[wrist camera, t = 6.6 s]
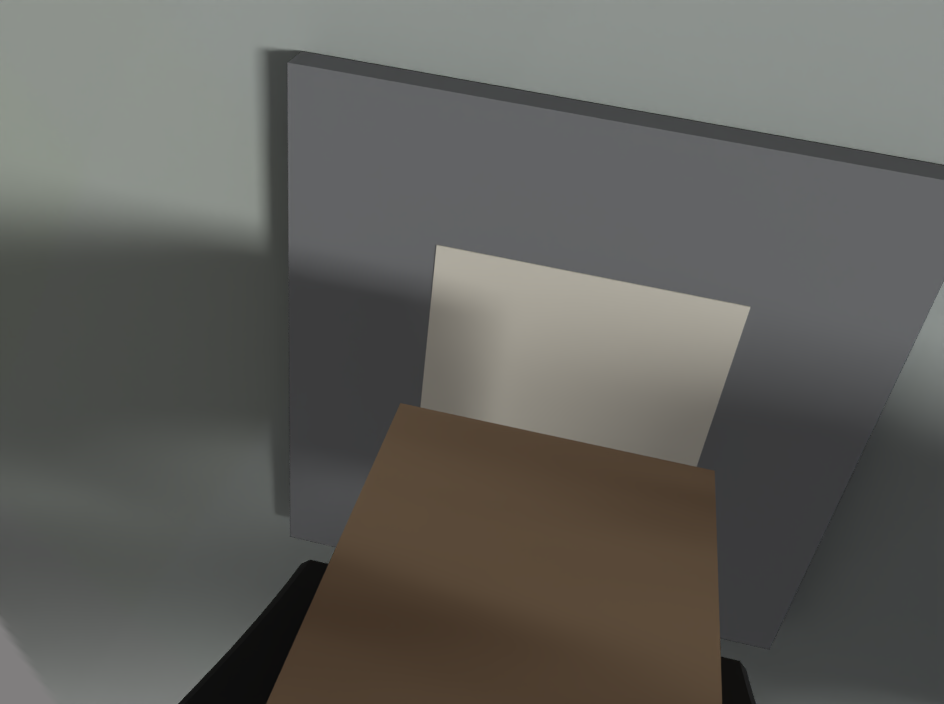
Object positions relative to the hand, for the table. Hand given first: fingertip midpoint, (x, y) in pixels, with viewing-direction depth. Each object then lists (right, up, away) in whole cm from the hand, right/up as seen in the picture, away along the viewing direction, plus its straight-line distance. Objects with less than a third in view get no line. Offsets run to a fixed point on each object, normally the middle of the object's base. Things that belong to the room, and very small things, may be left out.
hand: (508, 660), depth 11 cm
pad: (+1, +3, +5) cm, 6 cm away
